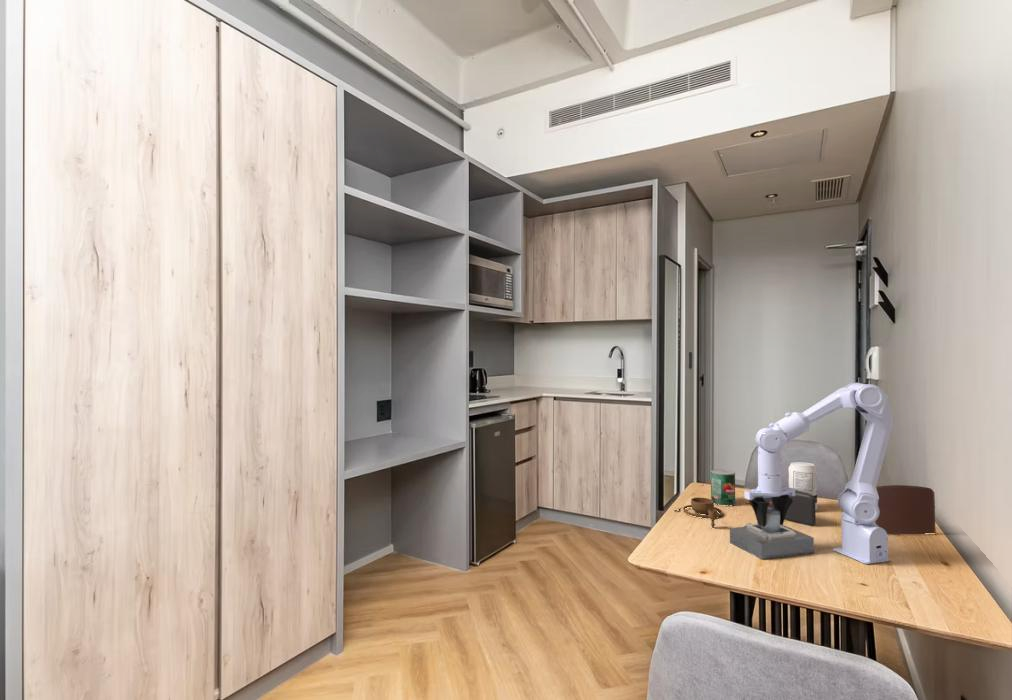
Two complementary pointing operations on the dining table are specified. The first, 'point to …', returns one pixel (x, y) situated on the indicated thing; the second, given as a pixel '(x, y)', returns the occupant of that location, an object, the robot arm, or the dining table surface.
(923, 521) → the letter holder
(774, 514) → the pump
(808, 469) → the supplement can
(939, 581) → the dining table surface
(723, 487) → the canned tomato
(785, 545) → the grey square pedestal
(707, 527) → the dining table surface
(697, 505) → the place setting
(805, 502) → the dark grey slab
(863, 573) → the dining table surface
